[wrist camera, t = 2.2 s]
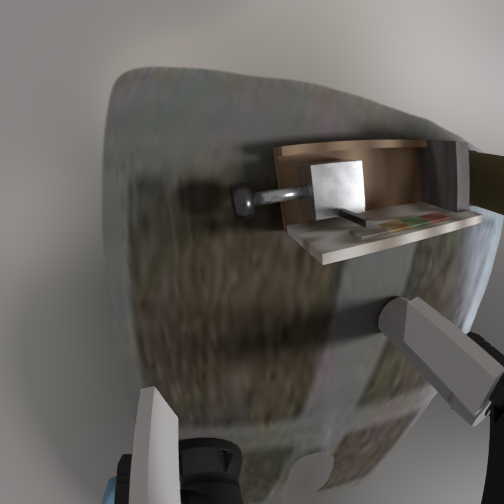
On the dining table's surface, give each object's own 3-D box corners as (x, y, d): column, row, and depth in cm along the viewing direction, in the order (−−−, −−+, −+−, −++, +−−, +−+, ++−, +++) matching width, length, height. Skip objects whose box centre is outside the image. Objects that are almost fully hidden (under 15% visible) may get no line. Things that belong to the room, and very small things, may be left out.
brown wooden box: (283, 230, 33) (322, 265, 23) (272, 147, 30) (311, 142, 19) (426, 204, 36) (481, 222, 26) (423, 140, 33) (482, 143, 22)
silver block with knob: (235, 225, 30) (250, 252, 22) (226, 175, 28) (238, 181, 20) (347, 205, 32) (393, 222, 23) (343, 159, 30) (391, 162, 21)
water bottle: (379, 339, 43) (464, 437, 20) (370, 309, 40) (475, 415, 17) (417, 311, 43) (509, 391, 20) (412, 279, 40) (523, 360, 17)
